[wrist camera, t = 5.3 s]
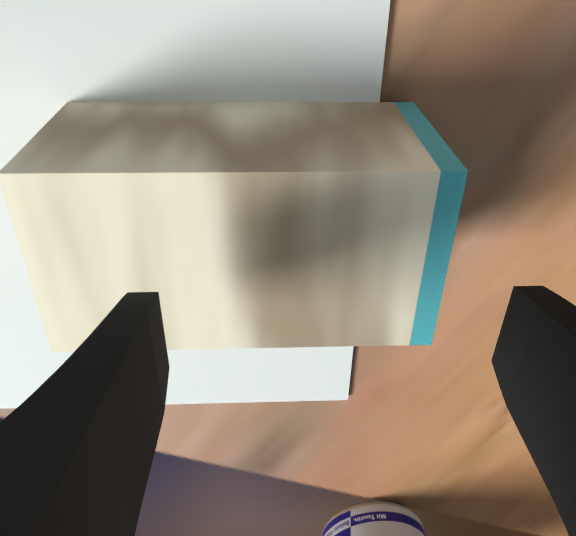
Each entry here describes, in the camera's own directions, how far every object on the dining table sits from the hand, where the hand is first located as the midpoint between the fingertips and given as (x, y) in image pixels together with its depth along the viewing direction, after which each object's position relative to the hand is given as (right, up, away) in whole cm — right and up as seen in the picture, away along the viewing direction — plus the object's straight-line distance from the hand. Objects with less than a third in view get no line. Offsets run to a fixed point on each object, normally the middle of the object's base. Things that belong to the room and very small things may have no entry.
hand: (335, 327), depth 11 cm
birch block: (+3, +3, +4) cm, 6 cm away
